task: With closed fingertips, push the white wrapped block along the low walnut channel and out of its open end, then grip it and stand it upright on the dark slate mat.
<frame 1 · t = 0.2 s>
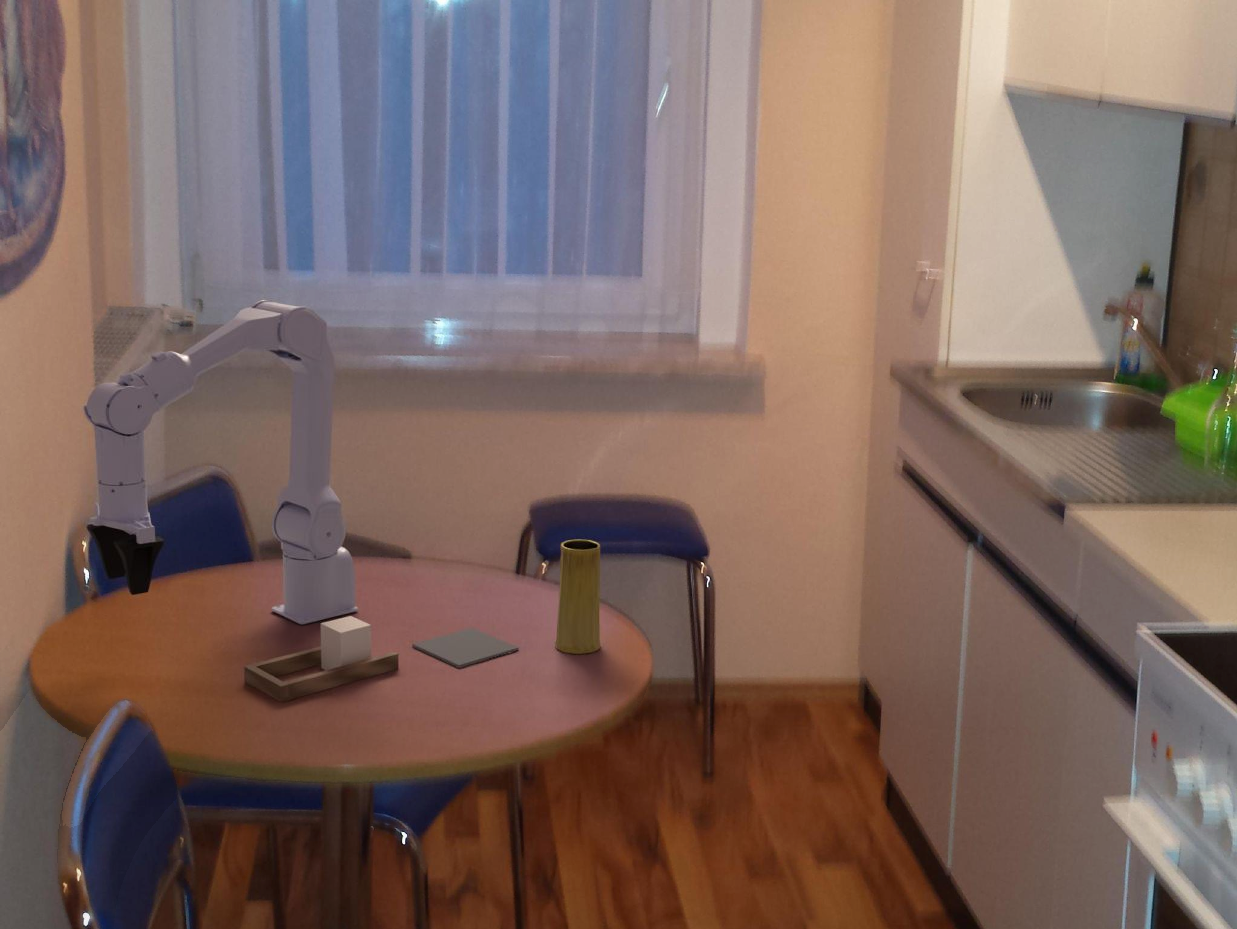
hand: (127, 585, 179), 10 cm above the table, tool pointing down, fingers open, 7 cm apart
walnut channel: (332, 672, 179), on the table
white block: (346, 668, 181), resting in walnut channel
vase: (577, 648, 191), on the table
slate mat: (465, 648, 189), on the table
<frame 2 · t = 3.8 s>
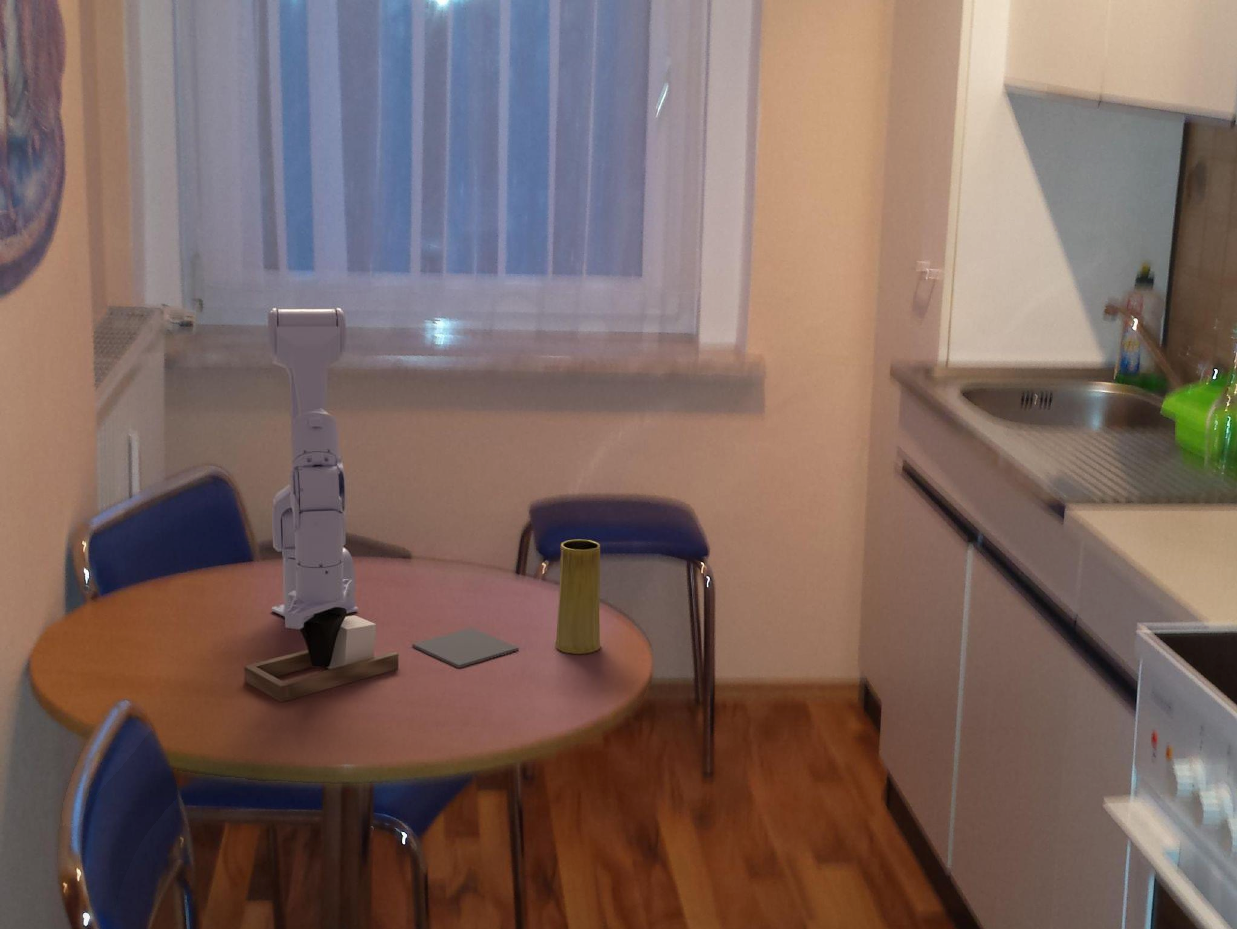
hand: (321, 665, 178), 1 cm above the table, tool pointing down, fingers closed
white block: (347, 667, 181), resting in walnut channel, tilted 5°, touching gripper
everything else where it was.
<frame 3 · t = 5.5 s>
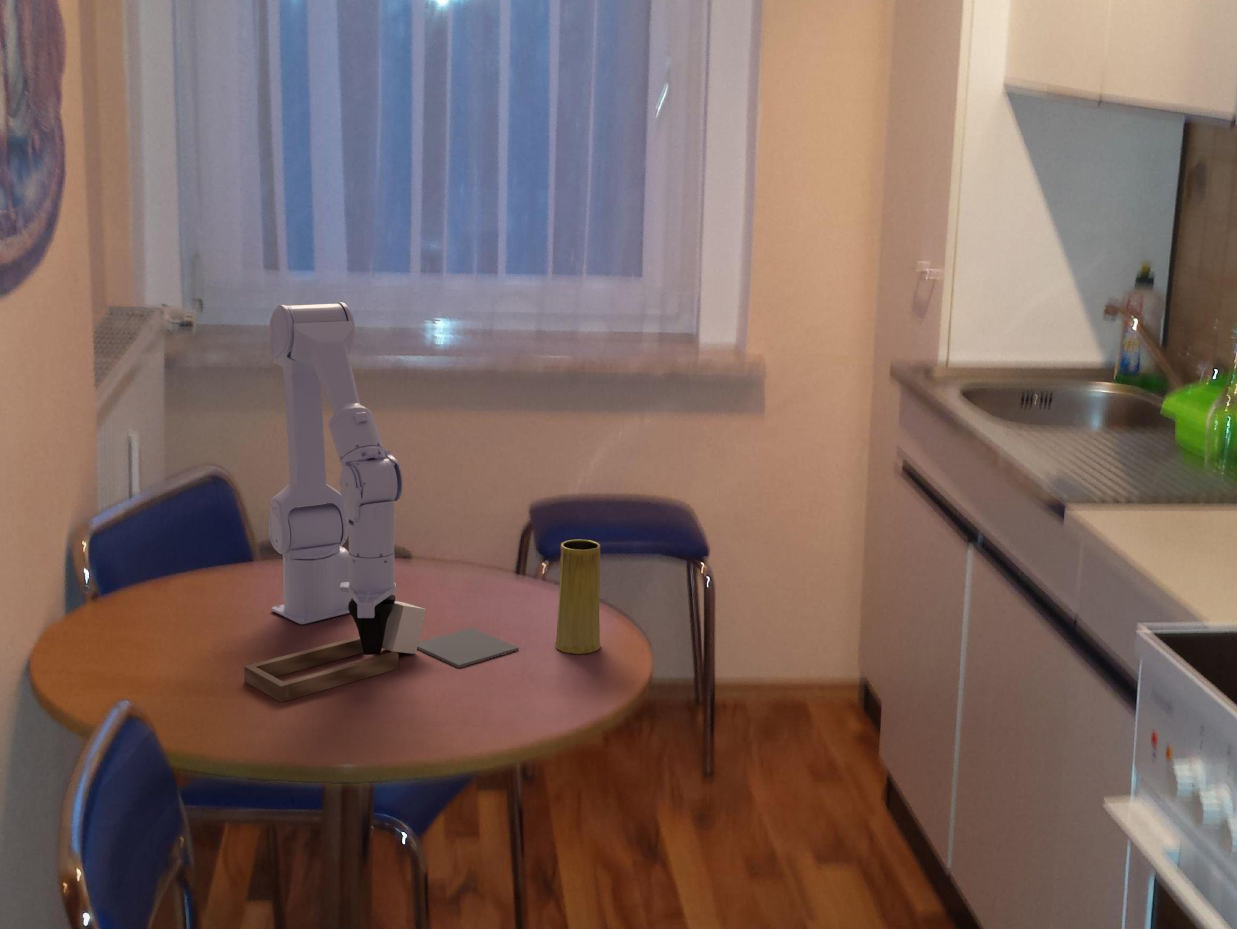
hand: (372, 653, 183), 1 cm above the table, tool pointing down, fingers closed
white block: (391, 648, 186), point 1 cm above the table, tilted 20°, touching gripper
everything else where it was.
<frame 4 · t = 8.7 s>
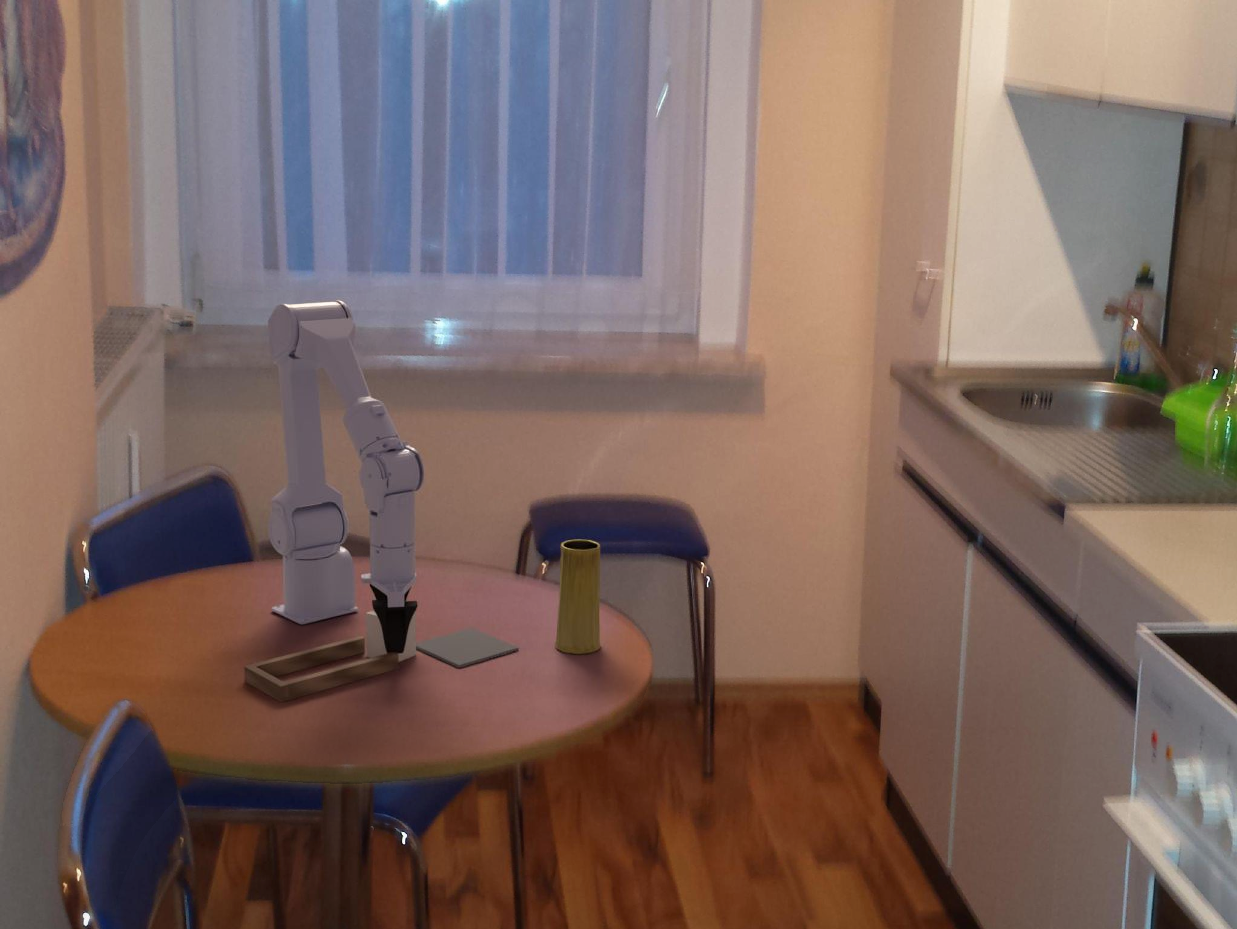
hand: (393, 642, 185), 2 cm above the table, tool pointing down, fingers open, 7 cm apart
white block: (391, 655, 186), on the table
everything else where it was.
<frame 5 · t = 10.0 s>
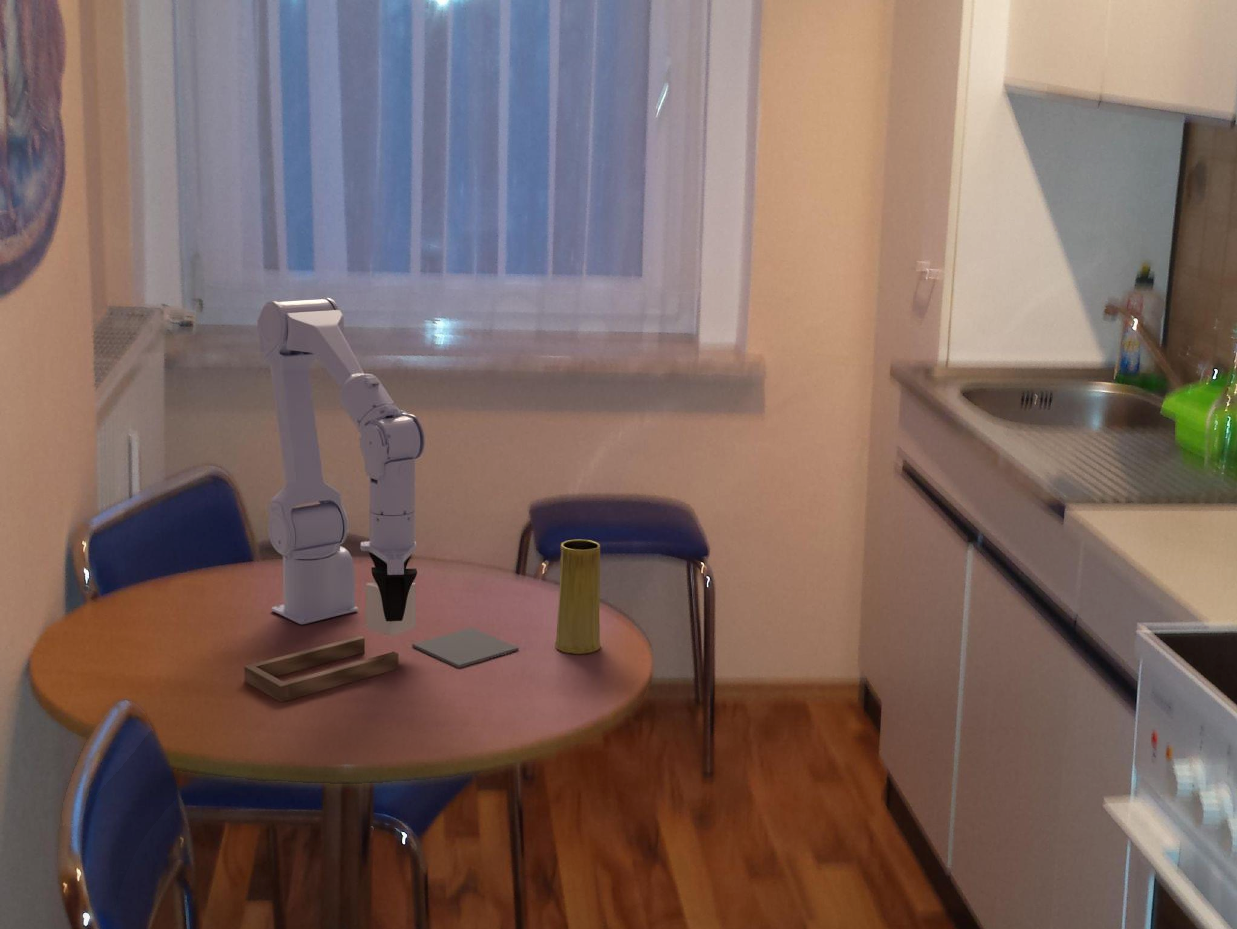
hand: (392, 611, 184), 6 cm above the table, tool pointing down, fingers closed on white block, 6 cm apart
white block: (390, 627, 185), point 4 cm above the table, touching gripper
everything else where it was.
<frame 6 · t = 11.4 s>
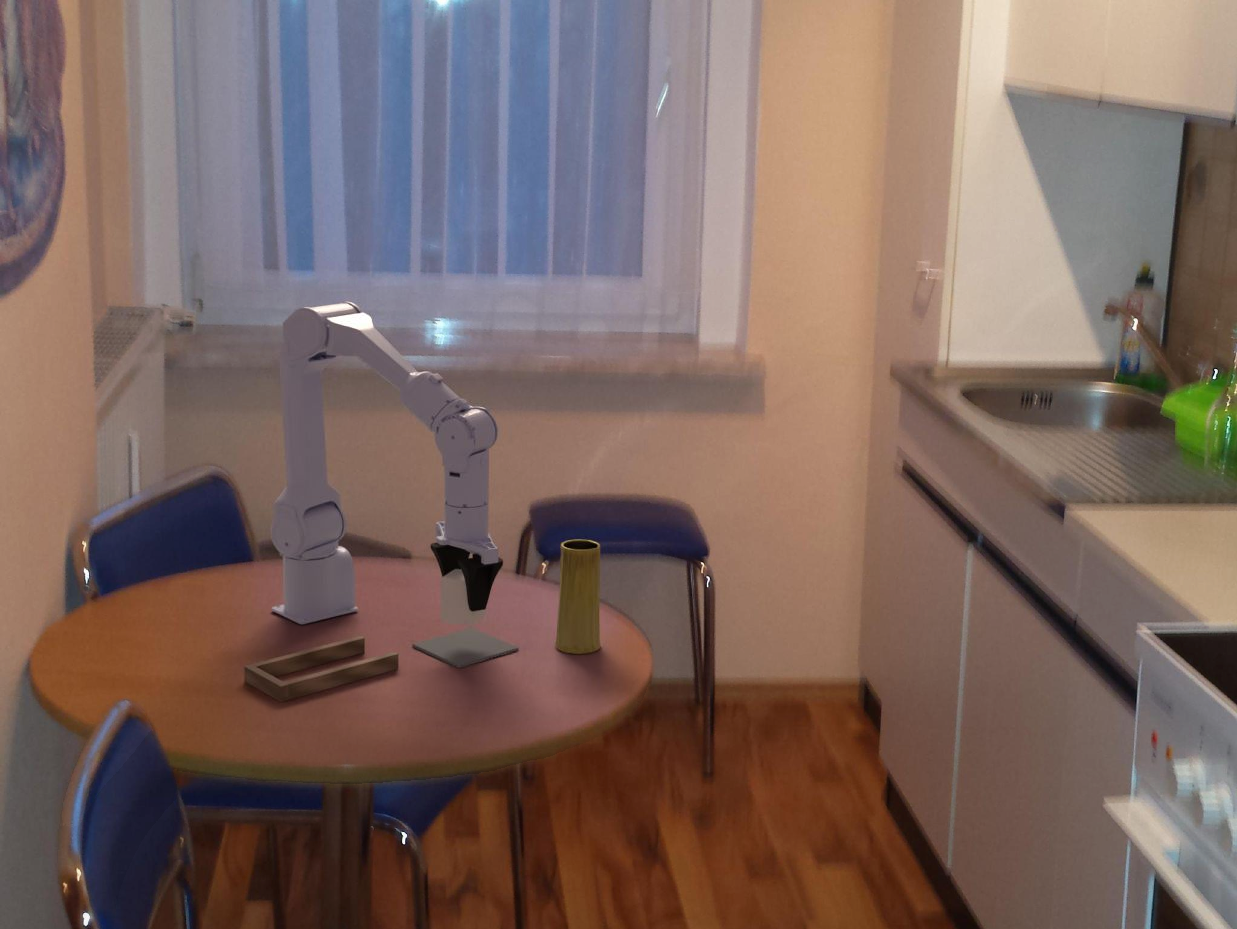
hand: (465, 602, 187), 6 cm above the table, tool pointing down, fingers closed on white block, 6 cm apart
white block: (463, 618, 188), point 4 cm above the table, touching gripper
everything else where it was.
when the fingers open (3 cm above the table, at t = 12.6 s): white block stays where it is, resting on slate mat.
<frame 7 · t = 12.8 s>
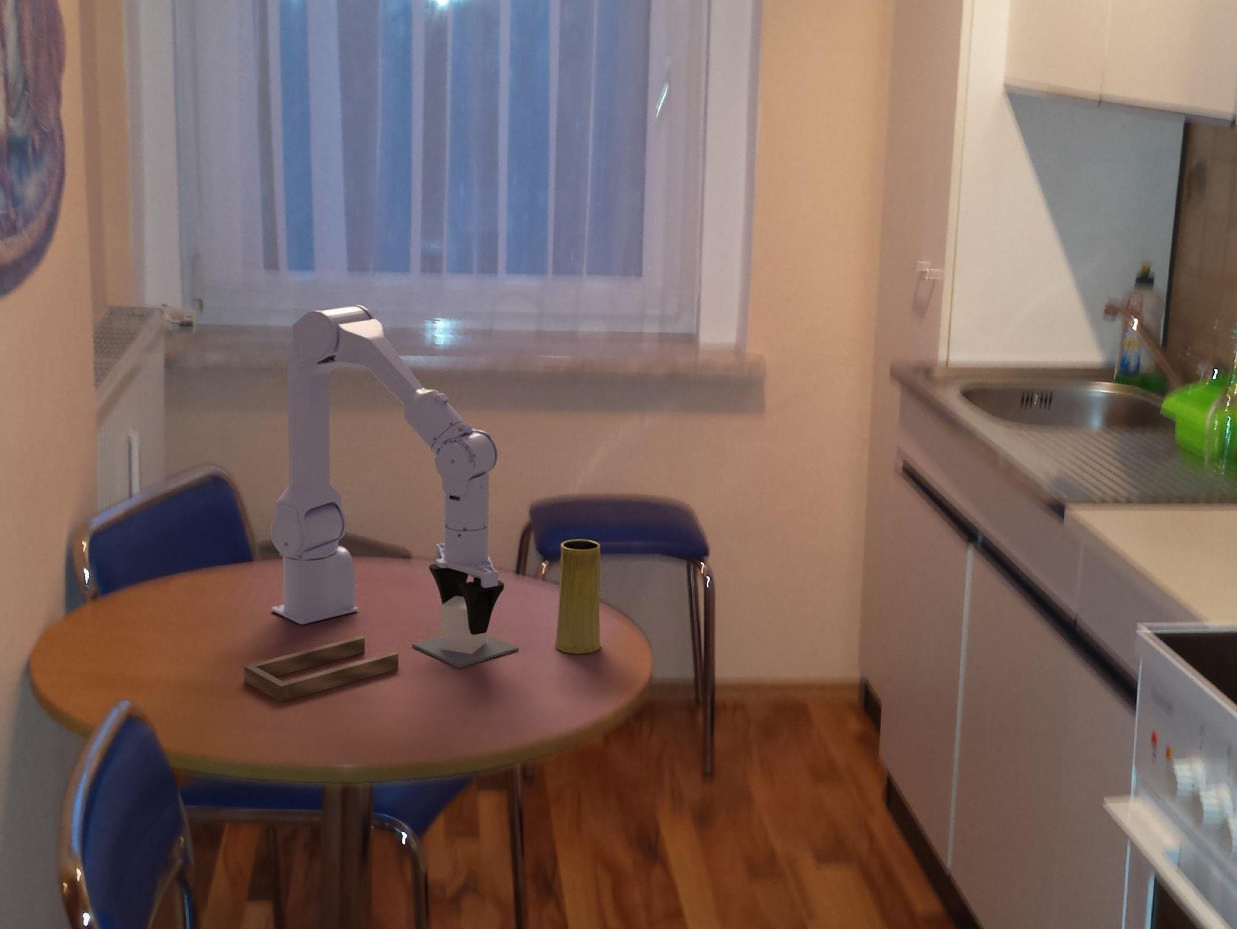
hand: (465, 624, 188), 3 cm above the table, tool pointing down, fingers open, 7 cm apart
white block: (463, 646, 189), resting on slate mat
everything else where it was.
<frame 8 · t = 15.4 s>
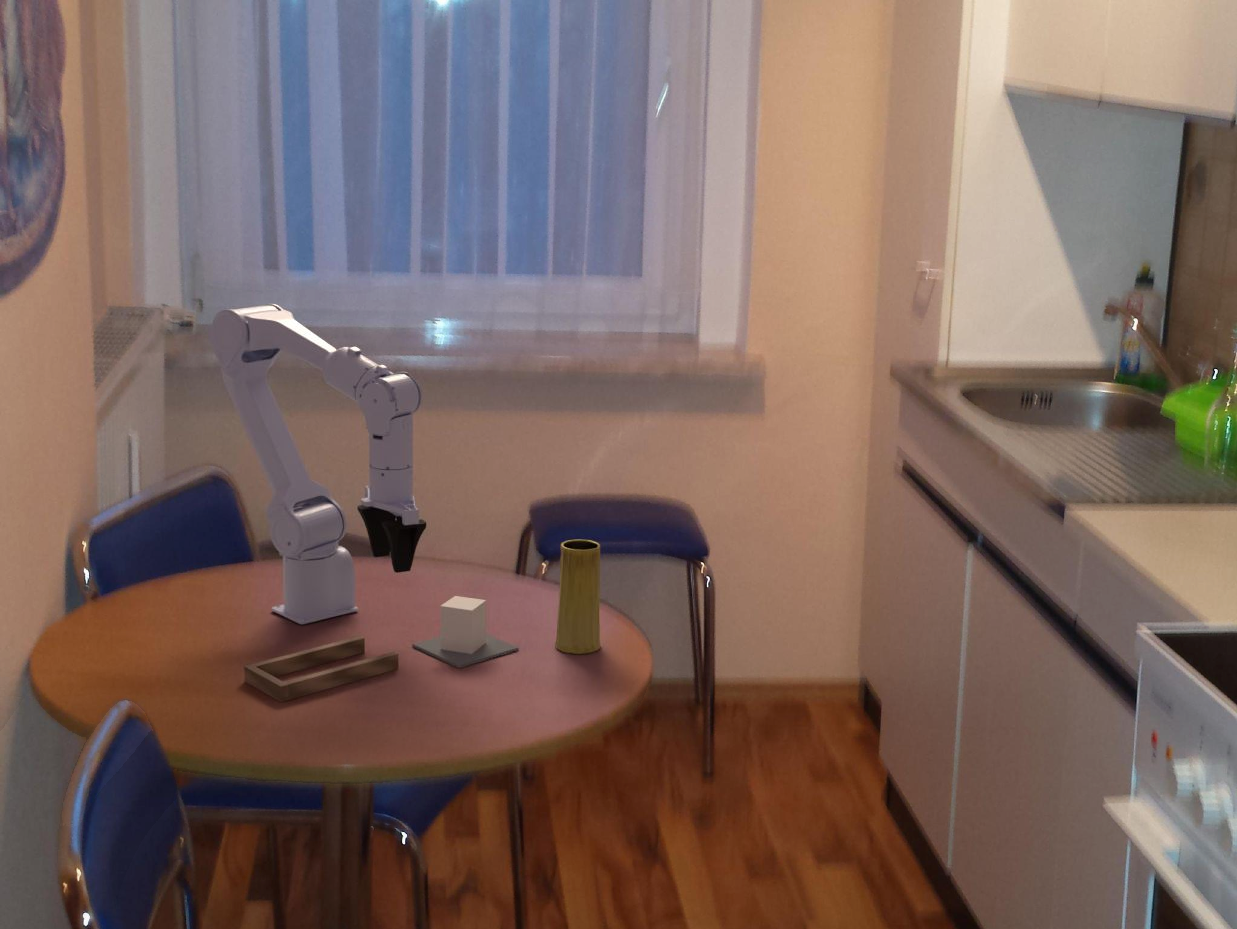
hand: (391, 563, 192), 10 cm above the table, tool pointing down, fingers open, 7 cm apart
nothing on the table moved.
at the end: white block inside the target area on the slate mat (0.3 cm from its centre), point 0.4 cm above the slate mat's base; white block tilted 0°; the gripper is holding nothing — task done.
